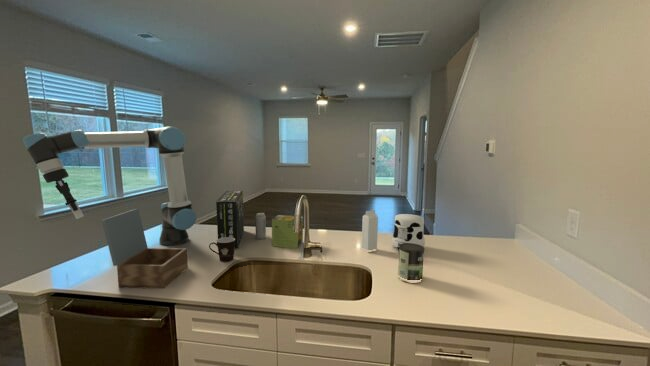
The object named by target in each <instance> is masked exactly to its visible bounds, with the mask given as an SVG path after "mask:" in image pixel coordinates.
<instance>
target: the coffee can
mask: <svg viewBox="0 0 650 366" xmlns="http://www.w3.org/2000/svg"><path fill="white" fill-rule="evenodd" d="M424 256H425V246H424V247H423V246H421V245H418V244H413V243H403V244H400V245H399V249H398V272H397V276H398V275H399V276H400V277H402V278H404V279H407V280H420V279H423V274H424V273H423V271H424Z"/></svg>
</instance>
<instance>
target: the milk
mask: <svg viewBox="0 0 650 366" xmlns="http://www.w3.org/2000/svg"><path fill="white" fill-rule="evenodd" d="M361 220H362V224H361V225H362V227H361V229H362V230H361V249H362V248H364V249H366V250H373V249H377V250H378V232H379V231H378V227H379V217H378V215H377V214H376V210H366V211H365V214H363V215H362V219H361Z"/></svg>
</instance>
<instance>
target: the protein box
mask: <svg viewBox="0 0 650 366" xmlns="http://www.w3.org/2000/svg"><path fill="white" fill-rule="evenodd" d="M294 216H295V215H281V214H278V215H276V216H274V217H273V218H271V246H272V247H283V248H290V249H291V248H292V249H298V248H300V246H301V245H302V244H303V243H304V240H303V239H304V238H303V237H304V235H303V232H304V231H303V229H304V226H303V223H304V217H303V216H301V221H300V228H301V231H300V232H299V233H294V230H293V226H294Z"/></svg>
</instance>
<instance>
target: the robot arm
mask: <svg viewBox="0 0 650 366" xmlns="http://www.w3.org/2000/svg"><path fill="white" fill-rule="evenodd" d="M22 141H23V144H24V146H25V148H26V150H27V151H28V153H29V155H30V157H31V158H32V160H33V162H34V163H35V165H36V167H35V170H39V172H40V173H41V174H42V177H43V179H44V181H45V182H46V183H47V184H50V183H53V182H55V185H54V187H55V188H56V190H57V191H58V193H59V194H60V195H62V196H63V197H64V198H63V199H65V201H66V202H65V203H64V204H65V206H68V207H69V209H70V210H71V212H72V214H73V216H74V218H75V219H76V220H79V219H81V218H83V217H85V215H84V213H83V211H82V210H81V207H79V205H78V203H77V201H78V200H77V199H76V198H75V197H73V195H72V194H71V188H70V187H69V184H68V182H66V181H65V180H64V179H67V178H68V177H69V176H70V175H69V173H68V172H67V170H66V168H64V167H65V166H64V163H63V162H62V161H61V158H60V157H59V156H58V155H60V154H63V153H68V152H71V151H75V150H86V149H105V148H106V149H108V148H109V149H110V148H113V149H114V148H130V147H131V148H132V147H134V148H135V147H145V148H146V149H158V153H159V156H161V157H162V158H163V164H164V165H163V166H164V170H165V178H166V184H167V185H166V186H167V191H168V192H167V193H168V197H169V201H168V202H163V203H161V206H160V211H161V228H162V229H161V232H160V236H159V244H160V245H162V246H176V245H181V244H184V243H186V242H188V241H189V240H190V238H189V237H190V235H189V233H188V231H187V230H189V229H191V228H192V227H193V226H194V225H195V224H196V221H197V215H196V214H197V213H196V212H195V211H194V210H193V205H192V201H190V200H189V197H188V192H187V185H186V184H187V183H186V178H185V172H184V171H185V170H184V163H183V154H184V153H185V148H184V146H185V143H186V135H185V134H184V132H183V131H182V130H181V129H180V128H178V127H175V126H169V125H168V126H163V127H162V126H161V127H157V128H151V129H143V130H142V131H103V132H102V131H101V132H99V131H96V132H92V131H91V132H90V131H89V132H85V131H84V130H82V129H75V130H71V131H67V132H62V133H59V134H55V135H51V136H50V135H49V136H48V135H47V134H46V133H44V132H38V133H33V134H29V135H26V136H24V137H23V138H22Z"/></svg>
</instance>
